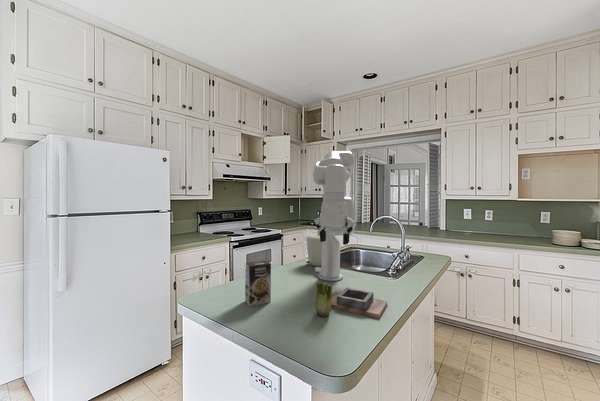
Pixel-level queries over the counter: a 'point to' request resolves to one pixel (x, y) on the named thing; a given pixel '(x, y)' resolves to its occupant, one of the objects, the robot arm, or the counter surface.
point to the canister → (314, 249)
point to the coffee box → (258, 283)
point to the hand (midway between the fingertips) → (334, 242)
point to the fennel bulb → (323, 299)
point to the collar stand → (358, 302)
